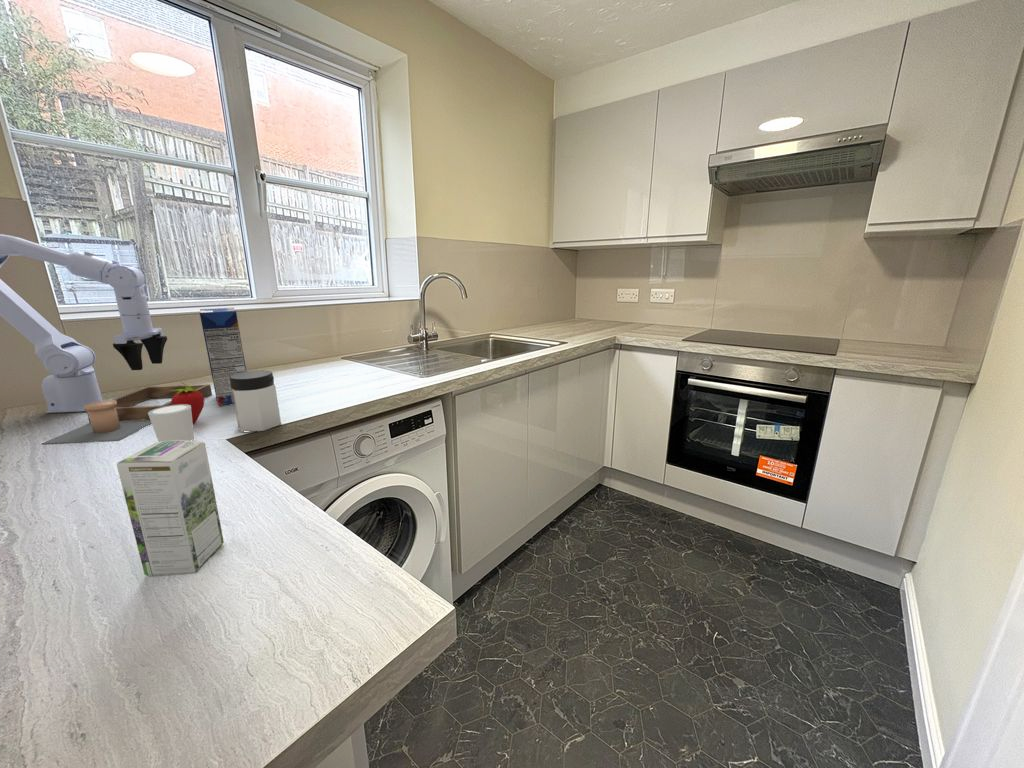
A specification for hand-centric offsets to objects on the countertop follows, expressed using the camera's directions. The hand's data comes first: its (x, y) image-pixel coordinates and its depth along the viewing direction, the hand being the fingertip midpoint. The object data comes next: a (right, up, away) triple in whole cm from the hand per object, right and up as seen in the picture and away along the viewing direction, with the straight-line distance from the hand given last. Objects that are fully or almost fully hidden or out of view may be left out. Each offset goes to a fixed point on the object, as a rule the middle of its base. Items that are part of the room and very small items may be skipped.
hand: (147, 366), depth 109 cm
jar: (+39, -14, -15) cm, 44 cm away
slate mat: (+7, -15, -19) cm, 25 cm away
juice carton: (+20, -9, +4) cm, 22 cm away
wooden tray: (+5, -10, -3) cm, 12 cm away
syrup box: (+57, -26, -59) cm, 86 cm away
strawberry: (+23, -14, -14) cm, 30 cm away
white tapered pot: (+27, -17, -24) cm, 40 cm away
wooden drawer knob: (+7, -15, -18) cm, 25 cm away
